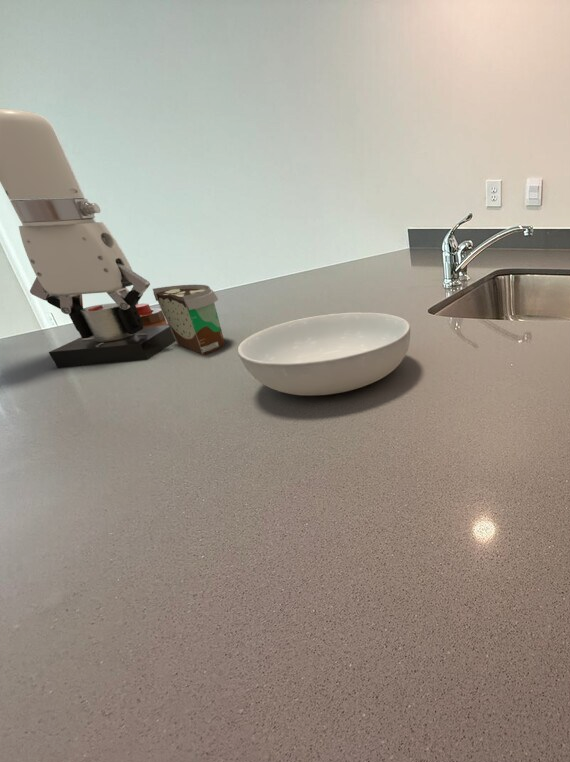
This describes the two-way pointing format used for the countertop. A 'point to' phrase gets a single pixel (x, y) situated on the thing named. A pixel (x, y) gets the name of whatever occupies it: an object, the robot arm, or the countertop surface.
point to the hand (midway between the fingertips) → (113, 332)
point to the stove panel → (113, 348)
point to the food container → (191, 316)
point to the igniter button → (143, 309)
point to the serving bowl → (326, 352)
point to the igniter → (154, 318)
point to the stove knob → (105, 322)
